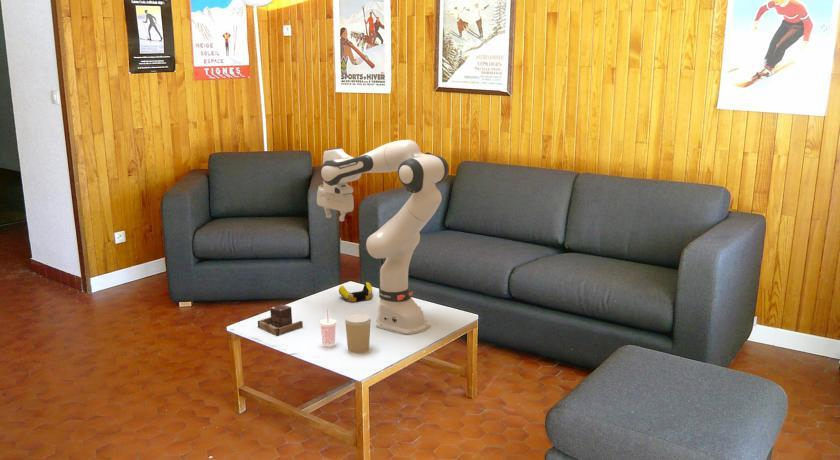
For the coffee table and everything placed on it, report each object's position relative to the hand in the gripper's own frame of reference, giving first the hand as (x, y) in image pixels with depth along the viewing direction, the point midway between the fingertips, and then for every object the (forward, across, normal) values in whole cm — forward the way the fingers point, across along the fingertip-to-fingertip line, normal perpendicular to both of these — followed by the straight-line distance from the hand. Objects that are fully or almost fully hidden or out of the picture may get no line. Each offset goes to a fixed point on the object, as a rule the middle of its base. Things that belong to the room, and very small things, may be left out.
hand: (335, 219), depth 306 cm
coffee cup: (+37, +43, -26) cm, 63 cm away
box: (+37, +3, -31) cm, 49 cm away
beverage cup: (+37, +32, -31) cm, 58 cm away
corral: (+37, +5, -33) cm, 50 cm away
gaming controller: (+38, +1, +10) cm, 39 cm away
